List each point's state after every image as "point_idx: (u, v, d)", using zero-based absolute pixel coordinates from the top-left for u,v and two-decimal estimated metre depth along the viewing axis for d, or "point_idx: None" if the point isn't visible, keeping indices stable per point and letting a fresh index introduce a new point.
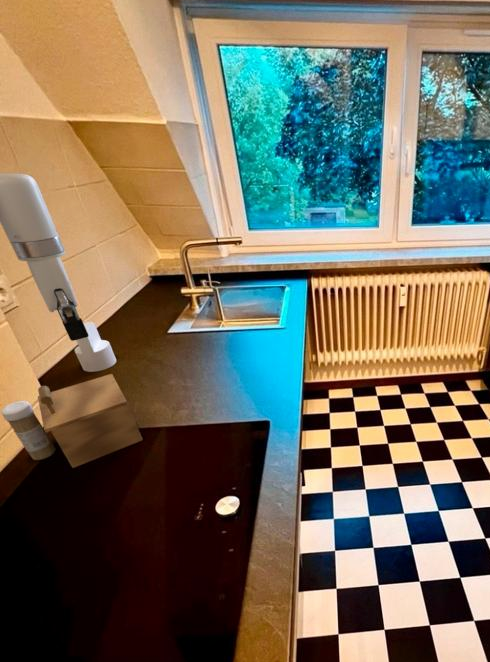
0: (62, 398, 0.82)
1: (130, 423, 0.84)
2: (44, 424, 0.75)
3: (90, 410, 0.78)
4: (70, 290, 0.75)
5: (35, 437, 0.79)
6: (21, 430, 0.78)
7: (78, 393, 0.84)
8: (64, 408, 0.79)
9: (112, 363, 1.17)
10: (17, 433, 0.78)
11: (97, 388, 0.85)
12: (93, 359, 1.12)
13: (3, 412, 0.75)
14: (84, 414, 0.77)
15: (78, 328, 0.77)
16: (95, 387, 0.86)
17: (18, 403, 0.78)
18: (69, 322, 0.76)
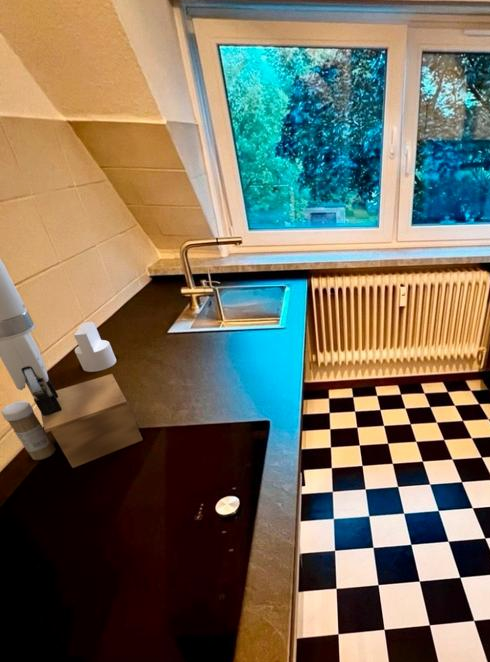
0: (62, 398, 0.82)
1: (130, 423, 0.84)
2: (44, 424, 0.75)
3: (90, 410, 0.78)
4: (39, 367, 0.71)
5: (35, 437, 0.79)
6: (21, 430, 0.78)
7: (78, 393, 0.84)
8: (64, 408, 0.79)
9: (112, 363, 1.17)
10: (17, 433, 0.78)
11: (97, 388, 0.85)
12: (93, 359, 1.12)
13: (3, 412, 0.75)
14: (84, 414, 0.77)
15: (50, 404, 0.75)
16: (95, 387, 0.86)
17: (18, 403, 0.78)
18: (40, 399, 0.74)
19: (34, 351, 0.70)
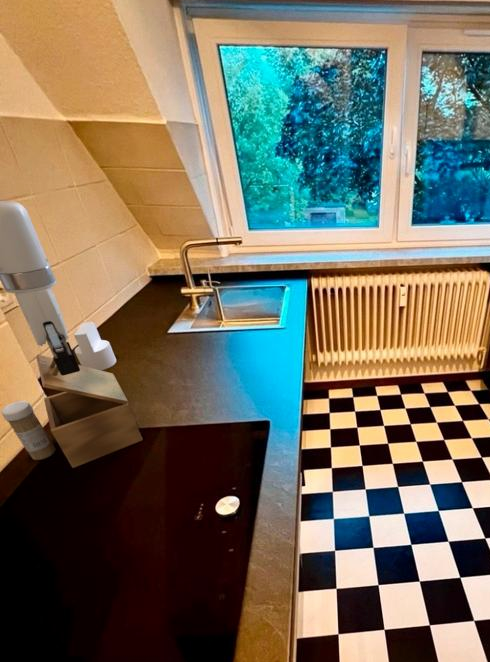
0: None
1: (130, 423, 0.84)
2: (45, 379, 0.72)
3: (92, 391, 0.77)
4: (60, 323, 0.70)
5: (35, 437, 0.79)
6: (21, 430, 0.78)
7: (79, 372, 0.82)
8: (65, 377, 0.77)
9: (112, 363, 1.17)
10: (17, 433, 0.78)
11: (99, 377, 0.85)
12: (93, 359, 1.12)
13: (3, 412, 0.75)
14: (85, 390, 0.76)
15: (69, 363, 0.74)
16: (97, 376, 0.85)
17: (18, 403, 0.78)
18: (60, 357, 0.73)
19: (56, 306, 0.69)
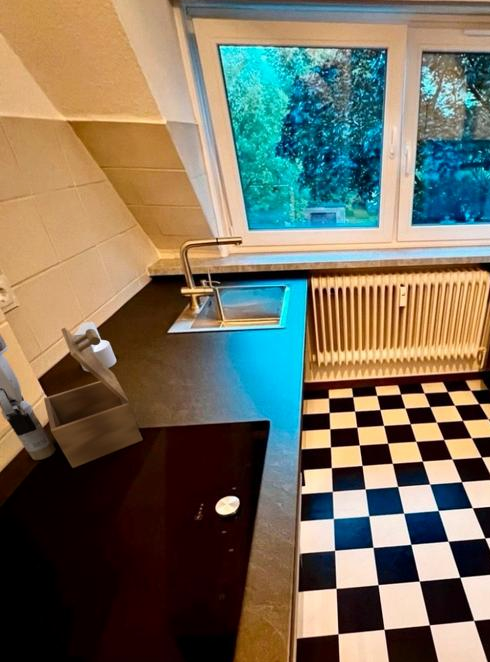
0: None
1: (130, 423, 0.84)
2: (74, 349, 0.73)
3: (105, 378, 0.78)
4: (12, 388, 0.71)
5: (35, 437, 0.79)
6: None
7: (93, 359, 0.83)
8: (86, 356, 0.78)
9: (112, 363, 1.17)
10: None
11: (106, 371, 0.85)
12: None
13: None
14: (101, 375, 0.77)
15: (24, 424, 0.76)
16: (104, 369, 0.85)
17: None
18: (14, 419, 0.74)
19: (6, 373, 0.71)
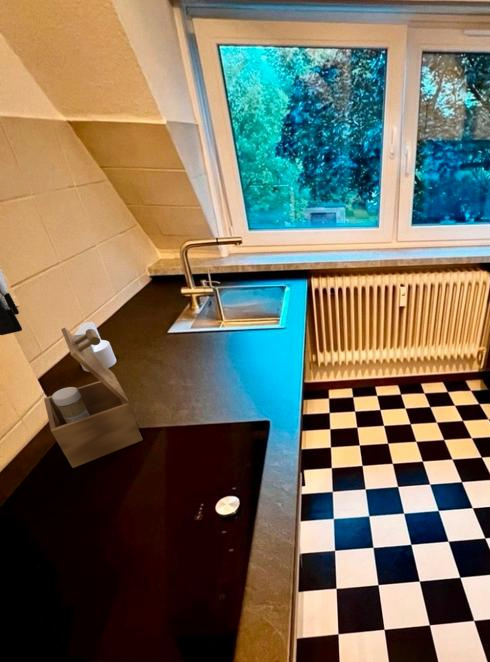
0: None
1: (130, 423, 0.84)
2: (74, 349, 0.73)
3: (105, 378, 0.78)
4: None
5: None
6: (70, 415, 0.80)
7: (93, 359, 0.83)
8: (86, 356, 0.78)
9: (112, 363, 1.17)
10: (66, 418, 0.81)
11: (106, 371, 0.85)
12: None
13: (54, 397, 0.78)
14: (101, 375, 0.77)
15: (7, 320, 0.65)
16: (104, 369, 0.85)
17: (67, 389, 0.80)
18: None
19: None
